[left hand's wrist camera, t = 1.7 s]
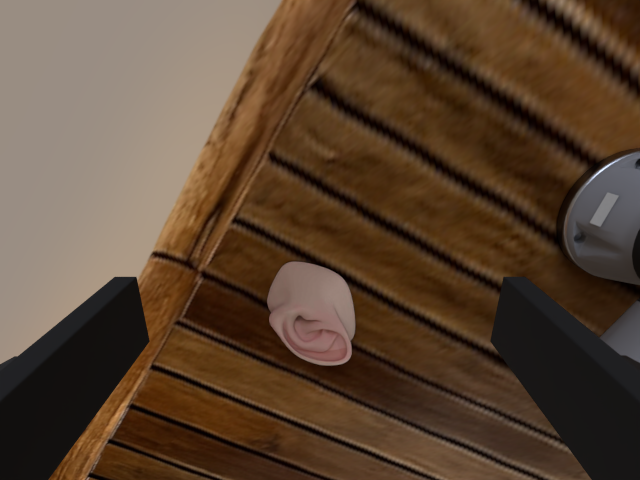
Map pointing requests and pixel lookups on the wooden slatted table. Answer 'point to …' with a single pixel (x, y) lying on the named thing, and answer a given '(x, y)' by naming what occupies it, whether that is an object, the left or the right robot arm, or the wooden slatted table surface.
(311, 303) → the anatomical model
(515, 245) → the wooden slatted table surface
